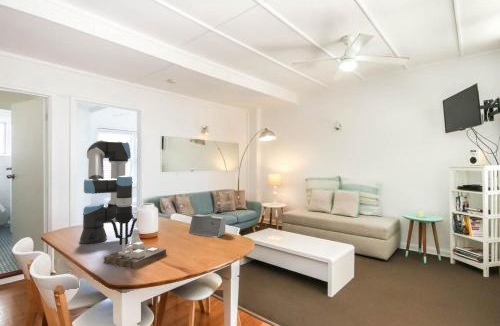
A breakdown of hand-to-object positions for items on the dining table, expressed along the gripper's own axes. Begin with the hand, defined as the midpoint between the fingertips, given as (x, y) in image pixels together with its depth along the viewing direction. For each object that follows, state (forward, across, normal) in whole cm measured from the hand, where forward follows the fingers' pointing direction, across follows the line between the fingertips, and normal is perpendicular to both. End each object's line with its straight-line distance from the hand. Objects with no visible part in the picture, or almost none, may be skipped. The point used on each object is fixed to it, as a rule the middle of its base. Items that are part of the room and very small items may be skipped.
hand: (123, 250), depth 143 cm
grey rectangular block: (+5, +55, +37) cm, 66 cm away
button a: (+4, 0, 0) cm, 4 cm away
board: (+4, +6, -1) cm, 8 cm away
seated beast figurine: (+5, +5, +19) cm, 20 cm away
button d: (+4, +14, 0) cm, 15 cm away
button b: (+2, +7, -7) cm, 10 cm away
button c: (+2, +7, +7) cm, 10 cm away
